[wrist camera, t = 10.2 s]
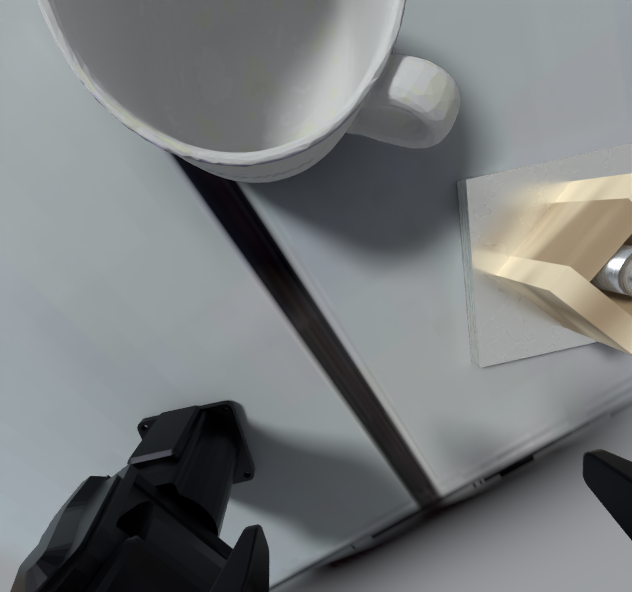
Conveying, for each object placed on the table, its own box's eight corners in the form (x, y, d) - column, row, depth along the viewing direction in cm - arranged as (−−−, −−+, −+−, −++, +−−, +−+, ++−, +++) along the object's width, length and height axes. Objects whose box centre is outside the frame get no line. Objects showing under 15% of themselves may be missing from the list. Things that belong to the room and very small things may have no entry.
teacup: (117, 105, 16) (-59, -4, 8) (226, -106, 14) (133, -520, 6) (329, 257, 18) (351, 287, 11) (444, 98, 16) (572, -7, 9)
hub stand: (639, 323, 21) (777, 366, 15) (471, 360, 21) (541, 418, 15) (654, 138, 18) (838, 96, 12) (456, 181, 18) (538, 162, 12)
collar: (642, 244, 18) (735, 251, 14) (567, 328, 19) (634, 356, 15) (571, 181, 17) (651, 170, 13) (495, 275, 18) (549, 290, 14)
